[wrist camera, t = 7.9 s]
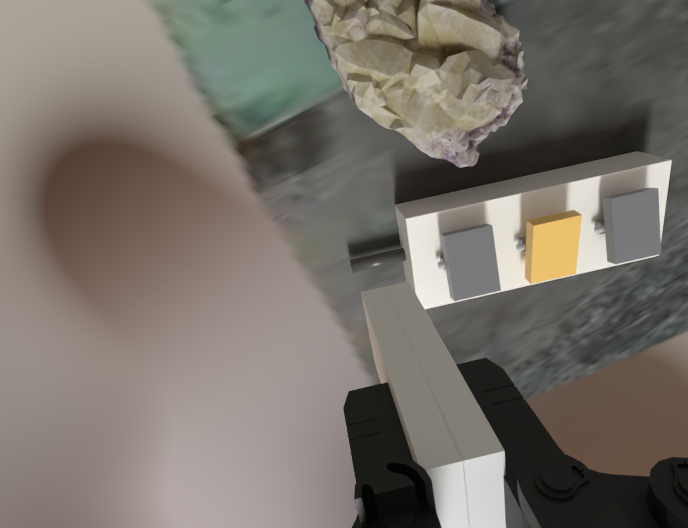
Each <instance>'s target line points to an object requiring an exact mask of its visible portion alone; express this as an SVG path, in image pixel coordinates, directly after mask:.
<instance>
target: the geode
mask: <svg viewBox="0 0 688 528" xmlns="http://www.w3.org/2000/svg"><path fill="white" fill-rule="evenodd" d="M305 3H306V5H307V7H308V9H309V11H310V12H311V14H312V17H313V19H314V22H315V26H314V29H315V32H316V34H317V37H318V39H319V40H320V41H321V42H322V43H323V44H324V45H325V47H326V50H327V53H328V56H329V59H330V60H331V63H332V67H333V68H334V69H335V70H336V71H337V73H338V74H339V77H340V80H341V83H342V86H343V89H345V90H346V91H347V92H348V93H349V95H350V99H351V101H352V102H353V103H354V105H355V106H356V107H357V108H358V109H360V110H361V111H362V112H364V113H366V114H367V115H368V116H370V117H371V118H373V119H374V120H375V121H376V122H377V123H378V124H379V125H381V126H383V127H385V128H387V129H393V130H396V131H398V132H400V133H401V134H402V135H404V136H405V137H406V138H407V139H408V140H410V141H411V142H412V143H413V144H414V145H415V146H416V147H417V148H418V149H419V150H421V151H422V152H424V153H425V154H427V155H429V156H430V157H433V158H439V159H446V160H448V161H450V162H452V163H454V164H455V165H456V166H458V167H460V168H462V167H466V166H473V165H475V164H476V163H477V160H478V157H479V154H480V153H479V150H478V146H477V145H478V144H479V143H481V142H482V140H483V139H484V138H486V137H487V136H488V134H489V133H490V131H492V132H496V130H497V128H498V127H499V126H505V125H506V124H507V122H508V120H509V118H510V116H511V115H512V114H513V112H514V111H515V109H516V108H517V106H518V105H519V104H521V103H522V102H523V100H522V94H521V90H527V81H528V78H523V77H524V76H525V74H524V72H523V67H524V62H523V60H522V56H523V53H524V51H522V50H521V49H520V47H521V43H522V42H519V41H518V40H519V30H518V29H517V28H516V27H515V26H514V25H512V24H510V23H508V21H507V20H506V18H505V17H504V16H503V15H500V14H496V10H495V5H494V4H490V3H487V0H305Z"/></svg>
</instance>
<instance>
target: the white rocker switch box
mask: <svg viewBox="0 0 688 528" xmlns="http://www.w3.org/2000/svg"><path fill="white" fill-rule="evenodd" d="M671 161H672V160H670V159H666V158H662V157H658V156H655V155H651V154H647V153H643V152H639V151H636V152H631V153H627V154H622V155H618V156H613V157H609V158H604V159H600V160H595V161H591V162H586V163H582V164H577V165H572V166H568V167H563V168H559V169H554V170H550V171H545V172H541V173H536V174H532V175H527V176H523V177H518V178H513V179H509V180H504V181H500V182H495V183H491V184H486V185H482V186H477V187H473V188H468V189H464V190H459V191H455V192H450V193H445V194H441V195H436V196H432V197H427V198H423V199H418V200H414V201H409V202H405V203H400V204H396V205H395V210H396V217H397V224H398V231H399V237H400V244H401V249H397V250H392V251H388V252H383V253H379V254H374V255H370V256H365V257H361V258H356V259H352V260H350V263H351V268H352V272H358V271H362V270H367V269H371V268H376V267H380V266H385V265H389V264H394V263H398V262H402V261H403V265H404V272H405V279H406V282H408V281H409V283H410V285H411V286H412V288H413V290H414V292H415V293H416V295H417V297H418V299H419V300H420V302H421V304H422V306H423V307H424V309H428V308H432V307H437V306H441V305H445V304H450V303H454V302H459V301H463V300H467V299H472V298H476V297H480V296H485V295H489V294H493V293H498V292H502V291H507V290H511V289H515V288H520V287H524V286H528V285H533V284H537V283H533V284H530V283H529V282H528V281H527V279H526V278H525V254H526V226H527V220H530V219H535V218H539V217H544V216H548V215H553V214H557V213H561V212H566V211H570V210H575V211H577V212H578V213H580V214H581V215H582V219H581V228H580V238H579V247H578V257H577V267H576V274H581V273H585V272H590V271H594V270H598V269H603V268H607V267H611V266H616V265H620V264H625V263H629V262H633V261H638V260H642V259H646V258H651V257H655V256H659V255H654V256H650V257H646V258H641V259H637V260H633V261H628V262H624V263H619V264H613V263H610V262H607V252H606V238H605V224H604V211H603V197H608V196H612V195H617V194H621V193H625V192H630V191H634V190H639V189H643V188H648V187H650V188H658V193H659V216H660V239H661V237H662V230H663V222H664V214H665V207H666V199H667V192H668V184H669V176H670V169H671ZM482 224H490V225H492V227H493V235H494V242H495V250H496V257H497V265H498V272H499V280H500V287H501V291H497V292H493V293H488V294H484V295H480V296H475V297H471V298H466V299H462V300H458V301H454V300H453V299H451V298H450V293H449V286H448V280H447V274H446V268H445V261H444V255H443V249H442V243H441V237H440V234H442V233H446V232H451V231H455V230H460V229H464V228H469V227H473V226H478V225H482ZM576 274H573V275H576ZM568 276H572V275H568ZM568 276H564V277H568ZM560 278H563V277H560ZM555 279H559V278H555ZM555 279H551V280H555ZM547 281H550V280H547ZM542 282H546V281H542ZM542 282H538V283H542Z"/></svg>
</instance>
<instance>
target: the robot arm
mask: <svg viewBox="0 0 688 528" xmlns="http://www.w3.org/2000/svg"><path fill="white" fill-rule="evenodd" d="M361 295H362V300H363V305H364V310H365V315H366V320H367V325H368V330H369V335H370V340H371V345H372V350H373V356H374V361H375V365H376V368H377V371H378V375H379V378H380V381H381V384H378V385H374V386H369V387H365V388H361V389H357V390H352V391H349V393H348V396H347V399H346V402H345V405H344V415H345V420H346V426H347V432H348V437H349V443H350V449H351V455H352V461H353V466H354V472H355V478H356V485H355V497H354V500H355V503H356V507H357V511H358V515H357V518H356V521H355V522H354V525H353V526H352V528H688V458H679V457H678V458H677V457H672V458H668V459H665V460H661V461H659V462H658V463H657V464H656V465H655V466H654V467H653V468H652V469H651V473H650V477H645V476H627V475H612V474H605V473H599V472H596V471H593V470H590V469H588V468H587V467H586V466H585V465H584V464H583V463H581V462H580V461H578V460H576V459H574V458H572V457H570V456H568V455H565V454H564V453H563V451H562V450H561V449H560V448H559V447H558V446H557V444H556V443H555V441H554V440H553V439H552V437H551V436H550V434H549V433H548V431H547V430H546V429H545V427H544V426H543V424H542V423H541V422H540V420H539V419H538V417H537V416H536V415H535V413H534V412H533V410H532V409H531V408H530V406H529V405H528V403H527V402H526V401H525V400H524V399H523V396H522V395H521V393H520V392H519V391H518V389H517V388H516V387H514V384H513V382H512V381H511V379H510V378H509V377H508V375H507V374H506V372H505V371H504V370H503V369H502V368H501V367H499V366H498V365H496V364H495V363H493V362H492V361H490V360H488V359H487V358H483V359H479V360H474V361H470V362H466V363H462V364H457V365H456V364H455V362H454V360H453V359H452V357H451V355H450V353H449V352H448V350H447V348H446V346H445V345H444V343H443V341H442V339H441V338H440V336H439V334H438V332H437V330H436V329H435V327H434V325H433V323H432V322H431V320H430V318H429V316H428V315H427V313H426V311H425V309H424V307H423V306H422V304H421V302H420V300H419V299H418V297H417V295H416V293H415V292H414V290H413V288H412V286H411V285H410V283H409V281H408V282H404V283H400V284H395V285H391V286H386V287H382V288H378V289H373V290H369V291H364V292H361Z"/></svg>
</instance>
